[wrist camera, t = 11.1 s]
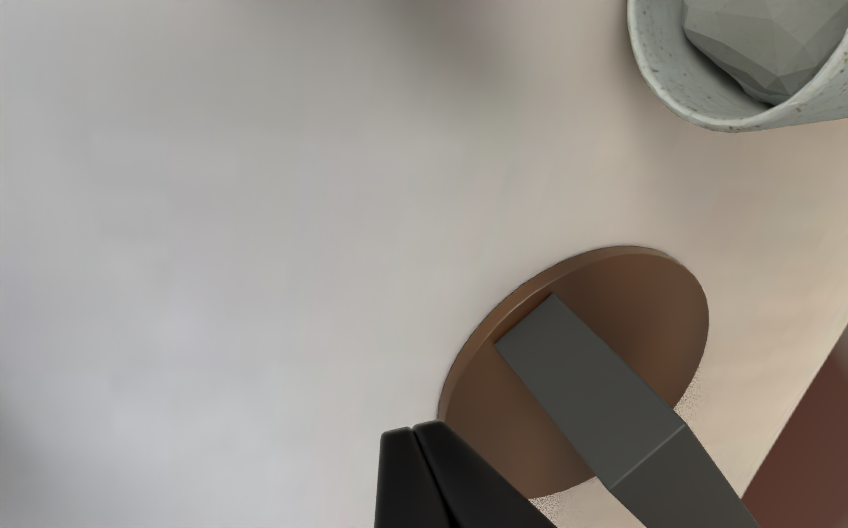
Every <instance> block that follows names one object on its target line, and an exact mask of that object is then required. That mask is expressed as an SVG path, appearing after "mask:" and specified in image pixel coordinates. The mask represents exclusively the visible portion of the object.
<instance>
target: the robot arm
mask: <svg viewBox="0 0 848 528" xmlns="http://www.w3.org/2000/svg"><path fill="white" fill-rule="evenodd" d="M374 528H557V527H556V526H555V525H554V524H553V523H552V522H551V521H550V520H549V519H548V518H547V517H546V516H544V515H543V514H542V513H541V512H540V511H539V510H538V509H537V508H536V507H535V506H534V505H533V504H532V503H531V502H530V501H528V500H527V499H526V498H525V497H524V496H523V495H522V494H521V493H520V492H519V491H518V490H517V489H516V488H515V487H514V486H513V485H511V484H510V483H509V482H508V481H507V480H506V479H505V478H504V477H503V476H502V475H501V474H500V473H499V472H498V471H497V470H495V469H494V468H493V467H492V466H491V465H490V464H489V463H488V462H487V461H486V460H485V459H484V458H483V457H482V456H481V455H479V454H478V453H477V452H476V451H475V450H474V449H473V448H472V447H471V446H470V445H469V444H468V443H467V442H466V441H465V440H463V439H462V438H461V437H460V436H459V435H458V434H457V433H456V432H455V431H454V430H453V429H452V428H451V427H450V426H449V425H447V424H446V423H445V422H444V421H442V420H433V421H428V422H424V423H420V424H416V425H414V426H413V428H412V429H411V428H409V427H403V428H398V429H394V430H390V431H386V432H384V433H382V435H381V441H380V454H379V468H378V482H377V495H376V509H375V523H374Z"/></svg>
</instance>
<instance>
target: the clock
mask: <svg viewBox="0 0 848 528" xmlns="http://www.w3.org/2000/svg"><path fill="white" fill-rule="evenodd" d="M494 347H495V348H496V349H497V351H498V352H499V353H500V355H501V356H502V357H503V358H504V360H505V361H506V362H507V363H508V365H509V366H510V367H511V368H512V370H513V371H514V372H515V373H516V375H517V376H518V377H519V379H520V380H521V381H522V382H523V384H524V385H525V386H526V387H527V389H528V390H529V391H530V392H531V394H532V395H533V396H534V398H535V399H536V400H537V401H538V403H539V404H540V405H541V406H542V408H543V409H544V410H545V411H546V413H547V414H548V415H549V417H550V418H551V419H552V420H553V422H554V423H555V424H556V425H557V427H558V428H559V429H560V430H561V432H562V433H563V434H564V435H565V437H566V438H567V439H568V441H569V442H570V443H571V444H572V446H573V447H574V448H575V449H576V451H577V452H578V453H579V454H580V456H581V457H582V458H583V460H584V461H585V462H586V463H587V465H588V466H589V467H590V468H591V470H592V471H593V472H594V473H595V475H596V476H597V477H598V479H599V480H600V481H601V482H602V484H603V485H604V486H605V487H606V489H607V490H608V491H609V492H610V493H611V494H612V495H613V496H614V497H615V498H616V499H618V500H619V501H620V502H621V503H622V504H623V505H624V506H625V507H626V508H627V509H628V510H629V511H630V512H631V513H632V514H633V515H634V516H635V517H636V518H637V519H638V520H639V521H640V522H642V523H643V524H644V525H645V526H646V527H647V528H760V526H759V525H758V523H757V522H756V521H755V519H754V518H753V516H752V515H751V513H750V512H749V511H748V509H747V508H746V506H745V505H744V504H743V502H742V501H741V499H740V498H739V497H738V495H737V494H736V492H735V491H734V490H733V488H732V487H731V485H730V484H729V482H728V481H727V480H726V478H725V477H724V475H723V474H722V473H721V471H720V470H719V468H718V467H717V466H716V464H715V463H714V461H713V460H712V459H711V457H710V456H709V454H708V453H707V452H706V450H705V449H704V447H703V446H702V444H701V443H700V442H699V440H698V439H697V437H696V436H695V435H694V433H693V432H692V430H691V429H690V428H689V426H688V425H687V423H686V422H685V421H684V420H683V419H682V418H681V417H680V416H679V415H678V414H677V413H676V412H675V411H674V410H673V408H672V407H671V406H670V405H669V404H668V403H667V402H666V401H665V400H664V399H663V398H662V397H661V396H660V395H659V394H658V393H657V392H656V391H655V390H654V389H653V388H652V387H651V386H650V385H649V384H648V383H647V382H646V381H645V380H644V379H643V378H642V377H641V376H640V375H639V374H638V373H637V372H636V371H635V370H634V369H633V368H632V367H631V366H630V365H629V364H628V363H627V362H626V361H625V360H624V359H622V358H621V357H620V356H619V355H618V354H617V353H616V352H615V351H614V350H613V349H612V348H611V347H610V346H609V345H608V344H607V343H606V342H605V341H604V340H603V339H602V338H601V337H600V336H599V335H598V334H596V333H595V332H594V331H593V330H592V329H591V328H589V327H588V326H587V325H586V324H585V323H584V322H583V321H582V320H581V319H580V318H579V317H578V316H577V315H576V314H575V313H574V312H573V311H572V310H571V309H570V308H569V307H568V306H567V305H566V304H565V303H564V302H563V301H562V300H561V299H560V298H559V297H558V296H557V295H556V294H555V293H553V294H552V295H550V296H549V297H548V298H547V299H546V300H545V301H543V302H542V303H541V304H540V305H539V306H538V307H537V308H535V309H534V310H533V311H532V312H531V313H530V314H528V315H527V316H526V317H525V318H524V319H523V320H522V321H520V322H519V323H518V324H517V325H516V326H515V327H514V328H512V329H511V330H510V331H509V332H508V333H507V334H505V335H504V336H503V337H502V338H501V339H500V340H499V341H497V342H496V343H495V344H494Z"/></svg>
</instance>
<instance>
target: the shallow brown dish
mask: <svg viewBox="0 0 848 528" xmlns="http://www.w3.org/2000/svg"><path fill="white" fill-rule="evenodd" d="M553 293H555V294H556V295H557V296H558V297H559V298H560V299H561V300H562V301H563V302H564V303H565V304H566V305H567V306H568V307H569V308H570V309H571V310H572V311H573V312H574V313H575V314H576V315H577V316H578V317H579V318H580V319H581V320H582V321H583V322H584V323H585V324H586V325H587V326H588V327H589V328H591V329H592V330H593V331H594V332H595V333H596V334H598V335H599V336H600V337H601V338H602V339H603V340H604V341H605V342H606V343H607V344H608V345H609V346H610V347H611V348H612V349H613V350H614V351H615V352H616V353H617V354H618V355H619V356H620V357H621V358H622V359H624V360H625V361H626V362H627V363H628V364H629V365H630V366H631V367H632V368H633V369H634V370H635V371H636V372H637V373H638V374H639V375H640V376H641V377H642V378H643V379H644V380H645V381H646V382H647V383H648V384H649V385H650V386H651V387H652V388H653V389H654V390H655V391H656V392H657V393H658V394H659V395H660V396H661V397H662V398H663V399H664V400H665V401H666V402H667V403H668V404H669V405H670V406H671V407H672V408H673V409H674V407H675V406H676V405H677V403H678V402H679V400H680V399H681V397H682V396H683V394H684V393H685V391H686V389H687V388H688V386H689V384H690V383H691V381H692V379H693V377H694V375H695V373H696V371H697V369H698V366H699V364H700V361H701V358H702V356H703V353H704V349H705V345H706V341H707V336H708V328H709V310H708V305H707V300H706V296H705V294H704V292H703V289H702V287H701V285H700V283H699V282H698V280H697V279H696V278H695V276H694V275H693V274H692V273H691V272H690V271H689V270H688V269H687V268H686V267H684V266H683V265H682V264H680V263H679V262H677V261H676V260H675V259H673V258H671V257H669V256H668V255H666V254H664V253H662V252H659V251H656V250H653V249H649V248H643V247H636V246H617V247H610V248H604V249H598V250H595V251H591V252H587V253H584V254H580V255H578V256H575V257H573V258H570V259H568V260H566V261H563V262H561V263H559V264H557V265H555V266H553V267H551V268H549V269H547V270H546V271H544V272H542V273H540V274H539V275H537V276H536V277H534V278H533V279H531V280H530V281H528V282H527V283H525V284H524V285H522V286H521V287H520V288H518V289H517V290H516V291H515V292H513V293H512V294H511V295H510V296H508V297H507V298H506V299H505V300H504V301H503V302H502V303H501V304H500V305H498V306H497V307H496V308H495V309H494V310H493V311H492V312H491V313H490V314H489V315H488V316H487V317H486V319H485V320H484V321H483V322H482V323H481V324H480V326H479V327H478V328H477V329H476V330H475V331H474V333H473V334H472V335H471V337H470V338H469V340H468V341H467V343H466V344H465V345H464V347H463V348H462V350H461V351H460V353H459V355H458V357H457V359H456V360H455V362H454V364H453V366H452V368H451V370H450V372H449V375H448V377H447V380H446V382H445V384H444V388H443V391H442V395H441V398H440V402H439V410H438V418H437V420H442V421H444V422H445V423H446V424H447V425H449V426H450V427H451V428H452V429H453V430H454V431H455V432H456V433H457V434H458V435H459V436H460V437H461V438H462V439H463V440H465V441H466V442H467V443H468V444H469V445H470V446H471V447H472V448H473V449H474V450H475V451H476V452H477V453H478V454H479V455H481V456H482V457H483V458H484V459H485V460H486V461H487V462H488V463H489V464H490V465H491V466H492V467H493V468H494V469H495V470H497V471H498V472H499V473H500V474H501V475H502V476H503V477H504V478H505V479H506V480H507V481H508V482H509V483H510V484H511V485H513V486H514V487H515V488H516V489H517V490H518V491H519V492H520V493H521V494H522V495H523V496H524V497H525V498H526V499H533V498H538V497H543V496H548V495H551V494H554V493H558V492H561V491H564V490H567V489H569V488H571V487H574V486H576V485H579V484H581V483H583V482H585V481H587V480H589V479H591V478H593V477H595V476H596V475H595V473H594V472H593V471H592V470H591V468H590V467H589V466H588V465H587V463H586V462H585V461H584V460H583V458H582V457H581V456H580V454H579V453H578V452H577V451H576V449H575V448H574V447H573V446H572V444H571V443H570V442H569V441H568V439H567V438H566V437H565V435H564V434H563V433H562V432H561V430H560V429H559V428H558V427H557V425H556V424H555V423H554V422H553V420H552V419H551V418H550V417H549V415H548V414H547V413H546V411H545V410H544V409H543V408H542V406H541V405H540V404H539V403H538V401H537V400H536V399H535V398H534V396H533V395H532V394H531V392H530V391H529V390H528V389H527V387H526V386H525V385H524V384H523V382H522V381H521V380H520V379H519V377H518V376H517V375H516V373H515V372H514V371H513V370H512V368H511V367H510V366H509V365H508V363H507V362H506V361H505V360H504V358H503V357H502V356H501V355H500V353H499V352H498V351H497V349H496V348H495V347H494V344H495V343H496V342H497V341H499V340H500V339H501V338H502V337H503V336H504V335H505V334H507V333H508V332H509V331H510V330H511V329H512V328H514V327H515V326H516V325H517V324H518V323H519V322H520V321H522V320H523V319H524V318H525V317H526V316H527V315H528V314H530V313H531V312H532V311H533V310H534V309H535V308H537V307H538V306H539V305H540V304H541V303H542V302H543V301H545V300H546V299H547V298H548V297H549V296H550V295H552V294H553Z"/></svg>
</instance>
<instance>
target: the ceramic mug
mask: <svg viewBox="0 0 848 528" xmlns="http://www.w3.org/2000/svg"><path fill="white" fill-rule="evenodd" d="M627 25H628V30H629V35H630V40H631V46H632V51H633V55H634V57H635V60H636V63H637V66H638V68H639V70H640V73H641V75H642V76H643V78H644V80H645V81H646V83H647V84H648V86H649V87H650V89H651V90H652V91H653V93H654V94H655V96H656V97H657V98H658V99H659V100H660V101H661V102H662V103H663V104H664V105H665V106H666V107H667V108H668V109H670V110H671V111H672V112H674V113H675V114H676V115H678V116H679V117H681V118H683V119H684V120H686V121H689V122H691V123H694V124H696V125H698V126H700V127H703V128H706V129H709V130H712V131H720V132H727V133H737V132H750V131H761V130H767V129H773V128H780V127H785V126H793V125H801V124H807V123H815V122H821V121H829V120H837V119H842V118H848V0H627Z"/></svg>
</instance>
